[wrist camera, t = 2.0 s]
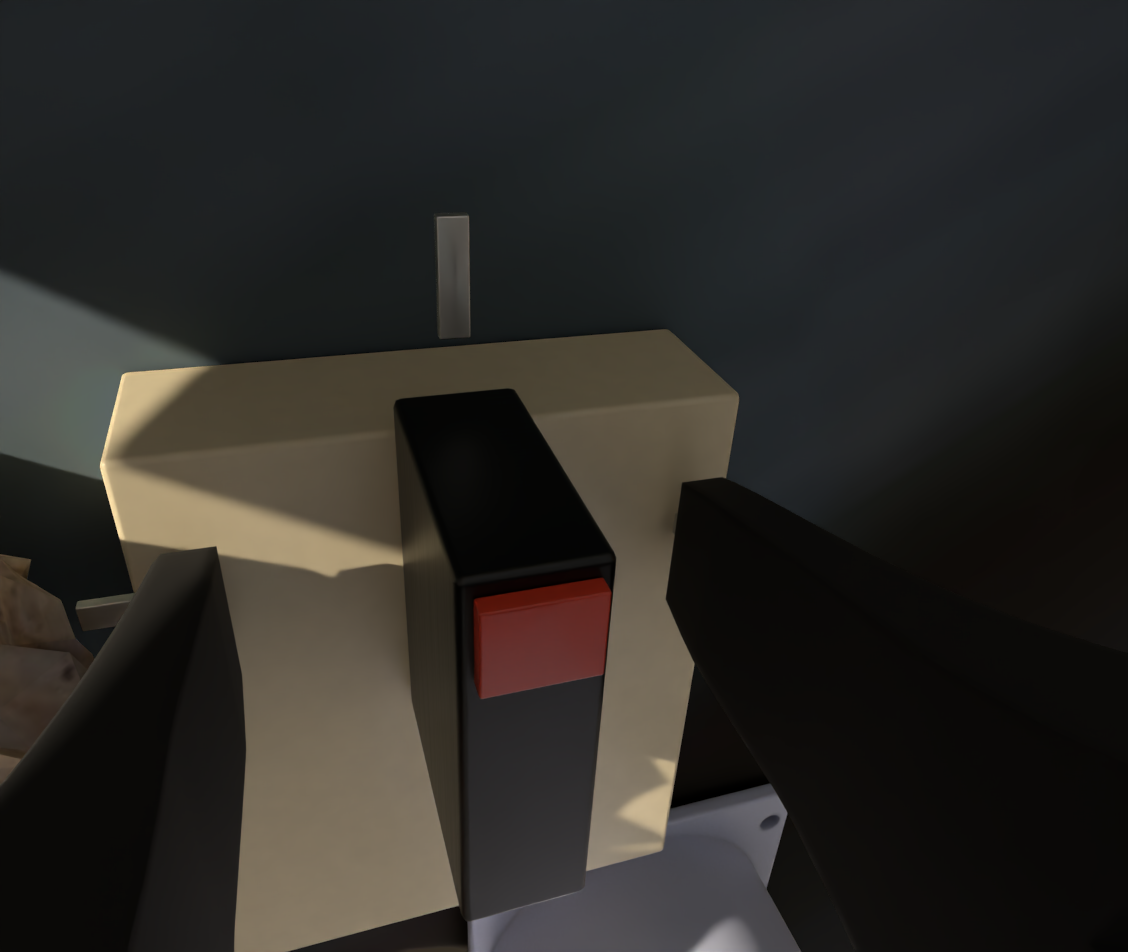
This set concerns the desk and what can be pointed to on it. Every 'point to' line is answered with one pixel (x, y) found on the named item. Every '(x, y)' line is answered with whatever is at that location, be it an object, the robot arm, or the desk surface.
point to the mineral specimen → (32, 660)
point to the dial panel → (401, 586)
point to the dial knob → (502, 643)
